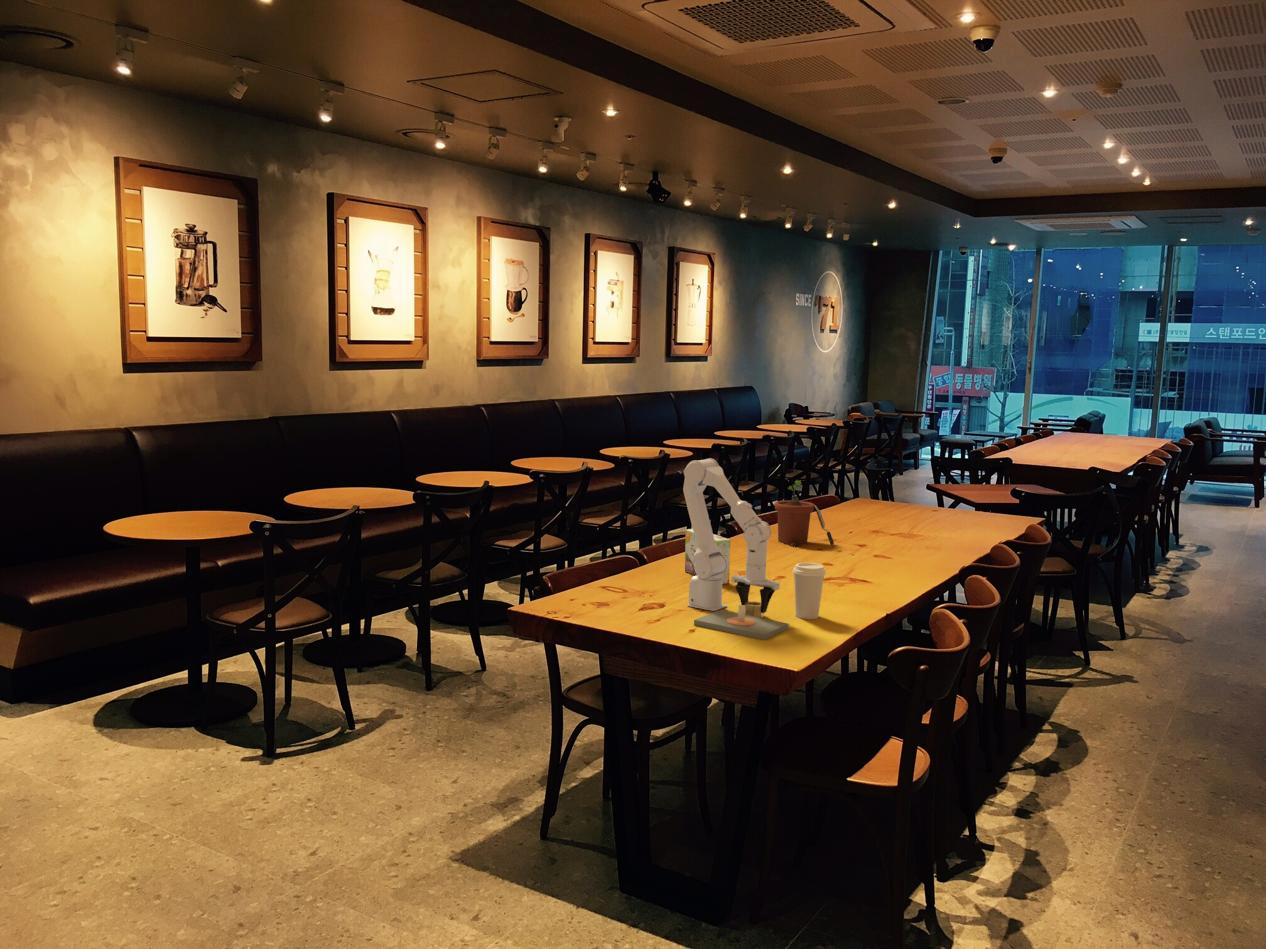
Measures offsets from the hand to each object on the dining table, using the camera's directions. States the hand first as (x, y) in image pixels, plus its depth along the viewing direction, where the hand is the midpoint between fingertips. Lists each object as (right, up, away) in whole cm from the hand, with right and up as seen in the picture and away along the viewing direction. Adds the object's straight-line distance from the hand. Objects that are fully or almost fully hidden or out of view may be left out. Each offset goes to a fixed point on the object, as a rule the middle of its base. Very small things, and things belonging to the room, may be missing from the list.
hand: (754, 610), depth 291 cm
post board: (-5, -3, -12) cm, 13 cm away
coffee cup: (+16, -2, +2) cm, 16 cm away
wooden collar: (0, -2, 0) cm, 2 cm away
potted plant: (+32, +11, +114) cm, 119 cm away
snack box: (-10, +4, +48) cm, 49 cm away
